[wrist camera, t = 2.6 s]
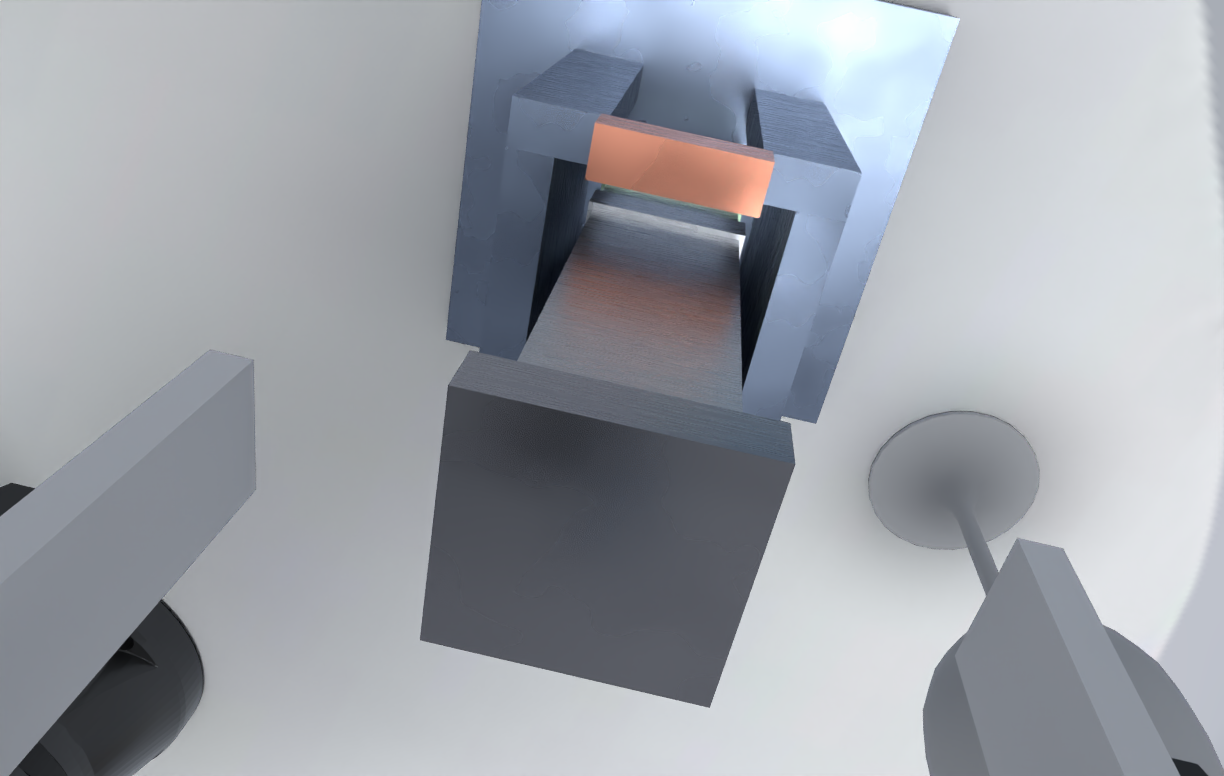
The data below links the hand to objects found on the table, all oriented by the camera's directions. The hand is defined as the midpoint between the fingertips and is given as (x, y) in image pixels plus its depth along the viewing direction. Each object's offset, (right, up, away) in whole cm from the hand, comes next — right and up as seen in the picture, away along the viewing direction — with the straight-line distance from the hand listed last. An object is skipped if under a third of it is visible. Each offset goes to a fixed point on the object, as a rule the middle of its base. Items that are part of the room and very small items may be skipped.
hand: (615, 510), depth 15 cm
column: (+2, +9, +18) cm, 20 cm away
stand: (+2, +10, +19) cm, 22 cm away
